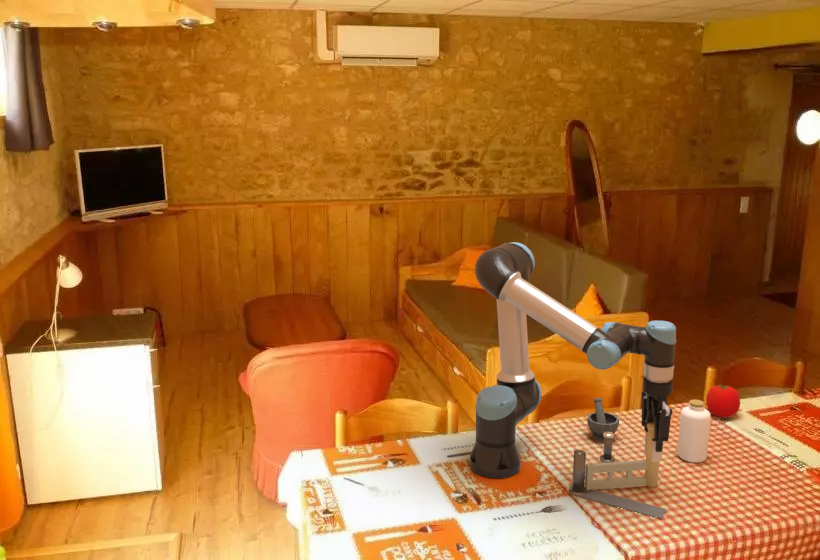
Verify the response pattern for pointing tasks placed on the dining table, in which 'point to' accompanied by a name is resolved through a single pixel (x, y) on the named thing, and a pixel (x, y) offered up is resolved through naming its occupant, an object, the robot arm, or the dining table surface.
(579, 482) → the brown knob post
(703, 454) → the potion bottle
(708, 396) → the tomato
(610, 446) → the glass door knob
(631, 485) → the slotted fence panel
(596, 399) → the mortar and pestle
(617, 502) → the strip
